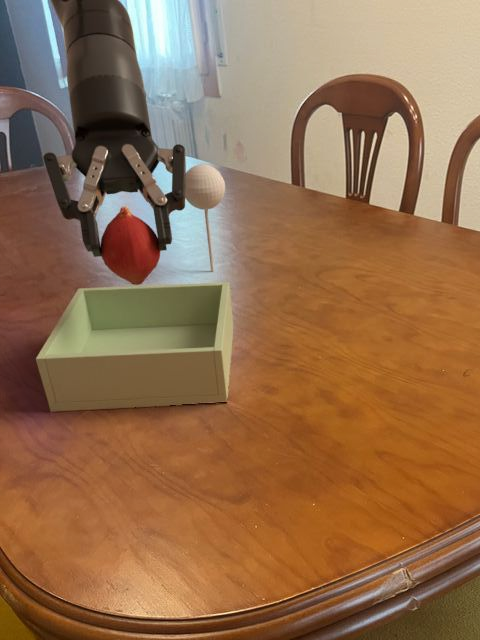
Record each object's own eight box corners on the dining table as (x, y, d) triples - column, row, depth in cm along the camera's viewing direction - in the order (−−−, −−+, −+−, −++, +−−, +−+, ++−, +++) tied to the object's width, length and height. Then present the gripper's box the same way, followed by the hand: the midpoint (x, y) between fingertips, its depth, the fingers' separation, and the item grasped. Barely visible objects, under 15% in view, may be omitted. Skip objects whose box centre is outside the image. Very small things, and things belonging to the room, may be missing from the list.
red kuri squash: (96, 287, 68) (78, 208, 63) (138, 270, 71) (125, 194, 67) (135, 299, 65) (119, 218, 60) (176, 281, 69) (165, 203, 64)
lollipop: (208, 261, 101) (196, 158, 93) (240, 267, 99) (231, 162, 91) (184, 275, 96) (169, 167, 88) (217, 281, 94) (206, 171, 86)
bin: (50, 412, 66) (35, 358, 62) (88, 334, 80) (78, 288, 77) (227, 403, 67) (221, 350, 63) (233, 328, 81) (229, 282, 78)
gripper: (24, 75, 62) (43, 238, 59) (177, 68, 65) (203, 224, 62) (43, 126, 69) (61, 274, 67) (180, 118, 72) (204, 260, 69)
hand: (130, 249), depth 64 cm, fingers closed on red kuri squash, 5 cm apart
